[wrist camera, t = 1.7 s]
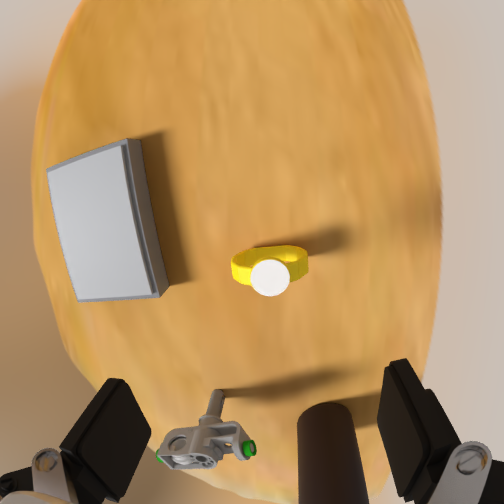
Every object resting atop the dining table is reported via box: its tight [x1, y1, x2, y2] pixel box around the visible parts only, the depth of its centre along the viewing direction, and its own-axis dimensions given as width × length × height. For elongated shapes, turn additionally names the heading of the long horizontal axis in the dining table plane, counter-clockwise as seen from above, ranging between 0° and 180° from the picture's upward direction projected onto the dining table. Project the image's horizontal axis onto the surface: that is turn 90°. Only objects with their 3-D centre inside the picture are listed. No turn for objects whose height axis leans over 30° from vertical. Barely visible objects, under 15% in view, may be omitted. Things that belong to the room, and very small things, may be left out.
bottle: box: [297, 403, 369, 504], centre depth 22 cm, size 7×7×20 cm
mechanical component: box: [156, 389, 257, 469], centre depth 26 cm, size 3×10×10 cm, turn 114°
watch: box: [231, 245, 308, 296], centre depth 23 cm, size 6×3×6 cm, turn 97°
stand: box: [46, 138, 169, 303], centre depth 25 cm, size 14×10×3 cm
